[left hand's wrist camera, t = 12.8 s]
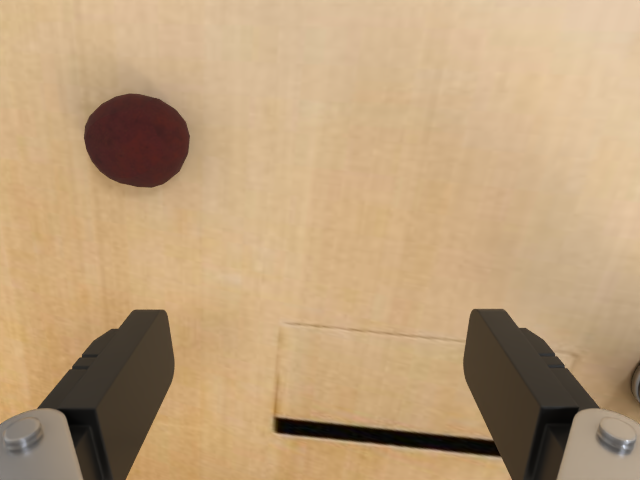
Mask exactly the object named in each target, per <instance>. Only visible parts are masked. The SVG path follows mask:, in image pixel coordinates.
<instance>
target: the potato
mask: <svg viewBox="0 0 640 480" xmlns="http://www.w3.org/2000/svg"><path fill="white" fill-rule="evenodd" d="M189 138H190V136H189V132H188V128H187V125H186V122H185V121H184V119H183V118H182V117H181V116H180V114H179V113H178V112H177V111H176V110H175V109H174V108H172V107H171V106H169V105H168V104H166V103H164V102H163V101H161V100H160V99H157V98H152V97H148V96H144V95H140V94H126V95H121V96H117V97H114V98H112V99H110V100H109V101H107V102H105V103H103V104H102V105H100V106H99V107H98V108H97V109H96V110H95V111H94V112H93V113H92V114H91V115H90V117H89V119H88V121H87V123H86V126H85V134H84V140H85V144H86V149H87V152H88V154H89V156H90V158H91V160H92V162H93V163H94V164H95V166H96V167H97V168H98V169H99V170H100V172H102V173H103V174H104V175H106V176H107V177H108V178H110V179H112V180H114V181H117V182H119V183H122V184H127V185H132V186H136V187H155V186H158V185H162V184H164V183H165V182H167V181H168V180H169V179H171V178H172V177H173V176H174V175H175V174H177V173H178V172H179V171H180V169H181V167H182V165H183V163H184V161H185V159H186V157H187V154H188V149H189Z"/></svg>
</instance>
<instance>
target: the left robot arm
mask: <svg viewBox="0 0 640 480" xmlns="http://www.w3.org/2000/svg"><path fill="white" fill-rule="evenodd" d="M463 366H464V375H465V379H466V382H467V384H468V386H469V389H470V391H471V393H472V395H473V397H474V399H475V401H476V404H477V406H478V408H479V410H480V412H481V414H482V416H483V418H484V421H485V423H486V425H487V427H488V429H489V431H490V433H491V436H492V438H493V440H494V442H495V444H496V446H497V448H498V450H499V453H500V455H501V457H502V459H503V461H504V463H505V465H506V468H507V470H508V472H509V474H510V476H511V478H512V480H640V424H639V423H637V422H636V421H634V420H632V419H630V418H628V417H626V416H624V415H622V414H619V413H616V412H613V411H610V410H605V409H600V408H599V406H598V405H597V404H596V403H595V402H594V400H593V399H592V398H591V397H590V396H589V394H588V393H587V392H586V391H585V390H584V388H583V387H582V386H581V385H580V383H579V382H578V381H577V380H576V379H575V377H574V376H573V375H572V374H571V373H570V371H569V370H568V369H567V368H565V367H564V366H565V365H564V364H563V363H562V362H561V360H560V359H559V358H558V357H555V353H554V352H553V351H552V350H551V348H550V347H549V346H548V345H547V344H546V342H545V341H544V340H543V339H541V338H540V337H538V336H537V335H535V334H534V333H532V332H531V331H529V330H528V329H526V328H518V326H517V325H516V324H515V322H514V321H513V320H512V319H511V317H510V316H509V315H508V313H507V312H506V311H505V310H504V309H473V310H472V312H471V314H470V318H469V325H468V332H467V339H466V345H465V352H464V360H463ZM173 374H174V354H173V348H172V341H171V334H170V328H169V321H168V316H167V313H166V311H165V310H133V311H132V312H131V313H130V315H129V316H128V317H127V319H126V320H125V321H124V322H123V324H122V325H121V326H120V328H119V329H111V330H109V331H108V332H106V333H105V334H103V335H102V336H100V337H99V338H97V339H96V340H94V341H93V342H92V343H91V345H90V346H89V347H88V348H87V349H86V351H85V352H84V353H83V354H82V358H79V359H78V360H77V361H76V363H75V364H74V365H73V366H72V369H70V370H69V371H68V372H67V373H66V375H65V376H64V377H63V378H62V379H61V381H60V382H59V383H58V384H57V385H56V387H55V388H54V389H53V390H52V391H51V393H50V394H49V395H48V396H47V397H46V399H45V400H44V401H43V402H42V403H41V405H40V406H39V407H38V408H37V409H35V410H30V411H27V412H24V413H21V414H18V415H16V416H14V417H12V418H10V419H8V420H6V421H4V422H3V423H1V424H0V480H126V477H127V475H128V473H129V471H130V469H131V467H132V465H133V463H134V461H135V459H136V456H137V454H138V452H139V450H140V448H141V446H142V444H143V442H144V440H145V437H146V435H147V433H148V431H149V429H150V427H151V425H152V423H153V421H154V418H155V416H156V414H157V412H158V410H159V408H160V406H161V404H162V402H163V399H164V397H165V395H166V393H167V391H168V389H169V387H170V385H171V382H172V379H173ZM631 387H632V392H633V395H634V397H635V398H636V400H637V401H638V402H639V403H640V365H639V366H638V368H637V369H636V371H635V373H634V375H633V378H632V384H631Z"/></svg>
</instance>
